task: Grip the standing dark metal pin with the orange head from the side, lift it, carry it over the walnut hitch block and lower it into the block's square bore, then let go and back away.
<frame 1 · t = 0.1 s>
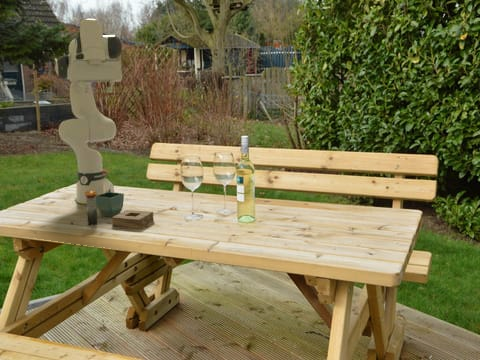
hand: (98, 92, 211), 52 cm above the table, tool tilted 20°, fingers open, 8 cm apart
hitch block: (133, 224, 215), on the table
pin: (92, 224, 216), on the table
flower pot: (110, 215, 229), on the table
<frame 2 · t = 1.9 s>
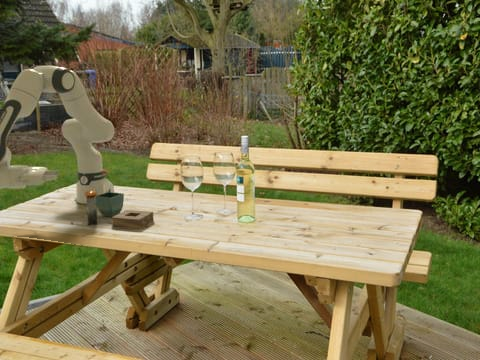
hand: (57, 175, 209), 21 cm above the table, tool horizontal, fingers open, 8 cm apart
nothing on the table moved.
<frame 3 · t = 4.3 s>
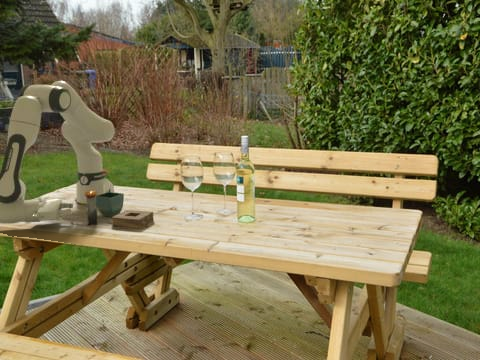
hand: (72, 208, 213), 7 cm above the table, tool horizontal, fingers open, 8 cm apart
nothing on the table moved.
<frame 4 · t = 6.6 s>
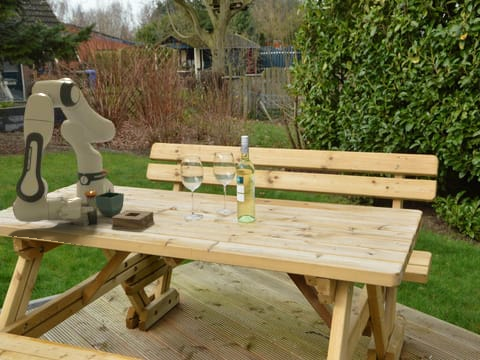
hand: (93, 206, 215), 7 cm above the table, tool horizontal, fingers closed on pin, 4 cm apart
pin: (92, 224, 216), on the table, touching gripper
everything else where it was.
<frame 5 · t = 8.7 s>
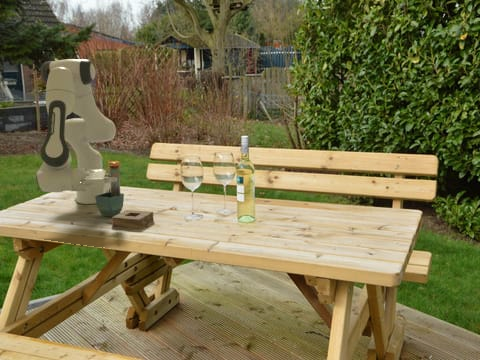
hand: (117, 177, 212), 19 cm above the table, tool horizontal, fingers closed on pin, 4 cm apart
pin: (115, 195, 213), point 12 cm above the table, touching gripper
everything else where it was.
when the fingers open (9 cm above the table, at t = 11.2 s): pin drops 2 cm, resting on hitch block.
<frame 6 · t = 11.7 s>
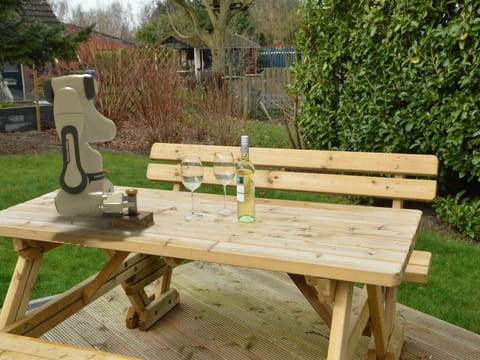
hand: (134, 201, 213), 9 cm above the table, tool horizontal, fingers open, 8 cm apart
pin: (133, 222, 215), point 1 cm above the table, touching hitch block
everything else where it was.
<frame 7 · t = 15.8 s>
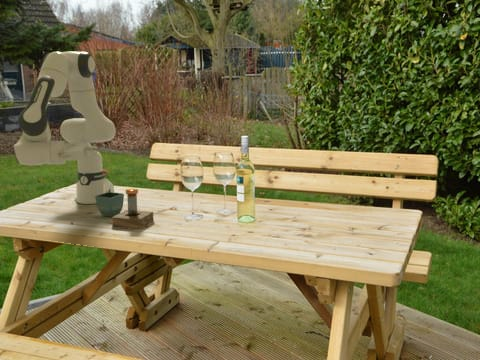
hand: (97, 151, 207), 30 cm above the table, tool horizontal, fingers open, 8 cm apart
nothing on the table moved.
at the end: pin 0.1 cm off-centre on the hitch block, point 0.8 cm above the hitch block's base; pin tilted 0°; the gripper is holding nothing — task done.
